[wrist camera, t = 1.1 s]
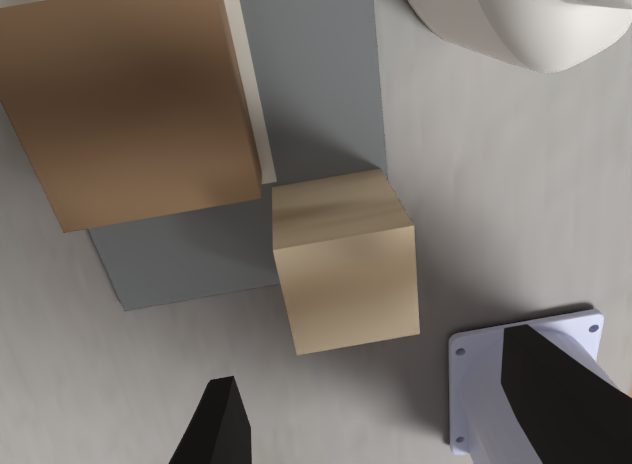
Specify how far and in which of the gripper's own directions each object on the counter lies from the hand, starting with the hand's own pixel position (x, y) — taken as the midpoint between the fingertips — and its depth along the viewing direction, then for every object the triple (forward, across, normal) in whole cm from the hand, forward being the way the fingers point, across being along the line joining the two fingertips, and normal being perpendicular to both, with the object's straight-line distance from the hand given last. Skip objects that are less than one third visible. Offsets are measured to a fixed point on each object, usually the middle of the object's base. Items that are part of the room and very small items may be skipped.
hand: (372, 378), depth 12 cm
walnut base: (+9, +6, -6) cm, 12 cm away
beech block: (+9, 0, 0) cm, 9 cm away
